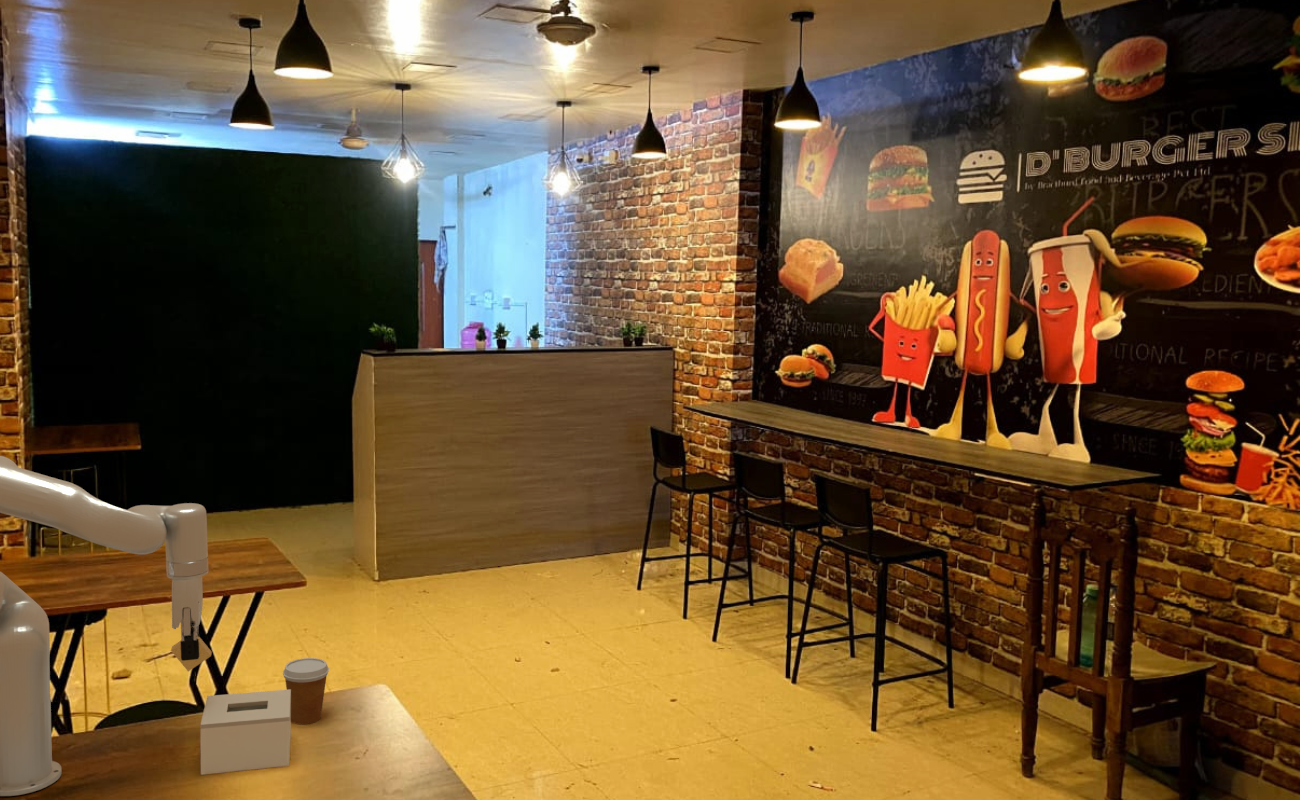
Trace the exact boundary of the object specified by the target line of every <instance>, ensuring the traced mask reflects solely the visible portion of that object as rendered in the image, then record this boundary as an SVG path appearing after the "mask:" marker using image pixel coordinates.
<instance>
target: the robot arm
mask: <svg viewBox="0 0 1300 800" xmlns="http://www.w3.org/2000/svg"><path fill="white" fill-rule="evenodd" d="M0 513H1V514H4V515H6V516H7V515H8V516H12V517H15V518H19V519H23V520H26V521H30V522H34V523H37V524H40V525H43V526H47V527H52V528H54V529H57V530H60V531H61V532H64V533H66V534H69V535H72V536H75V537H77V538H80V539H83V540H86V541H88V542H90V543H94V544H97V545H100V546H103V547H106V548H108V549H109V548H111V549H113V550H118V551H122V552H124V553H125V552H126V553H130V554H135V555H149V554H152V553H154V552H156V551H158V550H159V549H160V548H161V547H162V546H163V545H164V543H165V565H166V566H165V567H166V569H165V570H166V578H168V579H170V580H171V628H172V629H173V630H176V629H177V628H179V627H180V639H181V640H180V641H181V660H183V661H185V660H195V659H198V658H199V639H197V635H198V636H199V637H200V635H201V634H200V633H199V625H200V623H201V620H202V615H203V614H202V613H203V595H204V594H203V593H204V592H203V577H204V576H206V575H208V574H209V553H208V551H209V549H208V547H209V546H208V545H209V544H208V523H207V522H208V521H207V520H208V519H207V518H208V517H207V510H206V508H205V506H204V505H202V504H199V503H195V502H194V503H192V502H189V503H187V502H184V503H177V504H173V505H154V504H153V505H150V504H140V505H135V506H132V507H130V508H128V509H125V508H121V507H119V506H115V505H113V504H110V503H108V502H105V501H103V500H101V499H99V498H97V497H95V496H94V495H92V494H90V493H89V492H87V491H86V490H85V489H83V487H81V486H79V485H77V484H74V483H72V482H69V481H66V480H62V479H58V478H56V477H51V476H48V475H45V474H41V473H39V472H34V471H32V470H29V469H24V468H22V467H19V466H18V465H17V464H16V463H15V462H14V461H13V460H12V459H10V458H9V457H6V456H3V455H0ZM49 621H50V620H49V618H48V615H47V612H46V611H45V610H44V609H43V608H42V607H41V605H40V604H38V603H37V602H36V601H35V600H34V599H33V598H32V597H31V596H30V595H28V593H26V592H25V591H24V590H23V589H21V588H20V587H19V586H18V585H17V584H16V583H14V581H12V580H11V579H10V578H9V577H8V576H7V575H5V574H4V573H3V572H2V571H0V797H13V796H14V797H15V796H21V795H26V794H30V793H35V792H36V791H40V790H43V789H45V788H47V787H49V786H52V784H54V783H56V781H58V780H59V779H60V777H61V776H62V773H63V772H62V766H61V763H59V762H57V761H55V760H53V755H52V753H53V752H52V747H53V746H52V712H51V711H52V709H51V708H52V707H51V706H52V705H51V701H52V700H51V680H50V679H51V676H50V675H51V671H50V667H51V665H50V664H51V663H50V658H51V657H50V654H51V653H50V651H51V650H50V649H51V647H50V646H51V645H50V644H51V643H50V622H49ZM200 638H201V637H200Z"/></svg>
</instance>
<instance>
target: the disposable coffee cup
mask: <svg viewBox="0 0 1300 800" xmlns="http://www.w3.org/2000/svg"><path fill="white" fill-rule="evenodd" d="M329 672H330V668H329V666H328V663H327V661H325V660H323V659H321V658H314V657H305V658H299V659H293V660H292V661H289V662H288V663H286V665H285V666H284V669H283V671H282V675H283V677H284V679H285V688H286V690H289V689H291V723H293V724H296V725H307V724H309V725H310V724H313V723H316V722H319V720H321V718H322V710H323V703H324V697H325V691H326V683H327V682H326V681H327V675H329Z"/></svg>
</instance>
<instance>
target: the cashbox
mask: <svg viewBox="0 0 1300 800" xmlns="http://www.w3.org/2000/svg"><path fill="white" fill-rule="evenodd" d="M291 723H292V721H291V689H289V690H287V689H278V690H267V691H266V690H265V691H255V692H241V693H239V692H238V693H229V694H228V693H227V694H216V695H215V694H213V695H207V696H206V700H205V704H204V709H203V713H202V716H201V720H200V775H210V774H212V775H213V774H222V773H223V774H224V773H233V772H241V771H250V770H251V771H252V770H262V769H270V768H271V769H273V768H281V767H290V760H291V759H290V758H291V757H290V754H291V735H292V734H291V726H292V725H291Z"/></svg>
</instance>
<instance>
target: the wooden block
mask: <svg viewBox="0 0 1300 800" xmlns="http://www.w3.org/2000/svg"><path fill="white" fill-rule="evenodd" d="M197 639H199V658H198V659H195V660H185V661H183V660H181V640H180V641H178V642H176V643H175V644H173V645H171V650H170V651H171V653H172V654H173V655H174V657H175V658H176V659H177V660H178V661H179V662H180V663H181V665H182V666H183V668H185V669H186V671H187V672H191V670H193V669H194V668H196V667H197V666H199V665H200V664H202V663H203V662H205V661H206V660H208V659H209V658H210V657H212V650H211V649H210V648H209V647H208V645H207V644H206V643H205V642H204V641H203V639H202V638H201V637H199V636H198V635H197Z"/></svg>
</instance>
